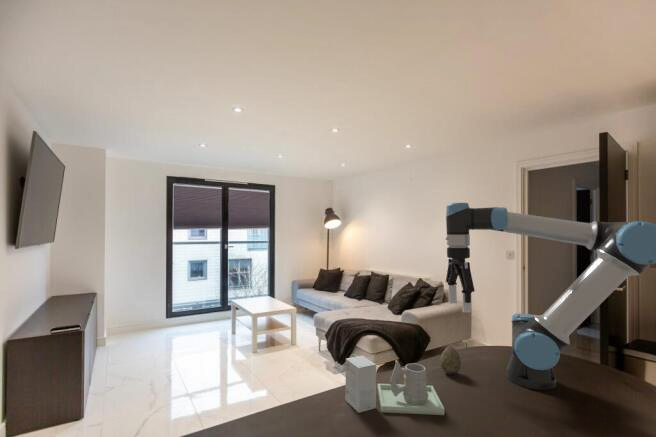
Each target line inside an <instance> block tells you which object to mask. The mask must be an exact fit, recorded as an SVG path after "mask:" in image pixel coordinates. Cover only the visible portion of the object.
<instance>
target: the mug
mask: <svg viewBox="0 0 656 437" xmlns="http://www.w3.org/2000/svg"><path fill="white" fill-rule="evenodd" d="M403 373H404V374H403ZM400 374H403V380H404V382H403V384H401V385H402V386H400V387H398V386H397V378H398V377H399V376H400ZM389 382H390V384H391V386H390V387H391V391H392V393H393V394H394V396H395V397H396V396H397V395H398V394H399V393H401V392H403V396H404V400H405V401H406V402H408V403H410V404H413V405H423V404H426V402H427V399H428V393H427V386H428V384H427V383H428V377H427V369H426V367H425V366H424V365H423V364H420V363H414V362H413V363H407V364H405V366H404V368H403V367H401V363H400V362H399V361H398V360H397V359H395V364H394V368H393V371H392V374H391V377H390V378H389Z"/></svg>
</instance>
